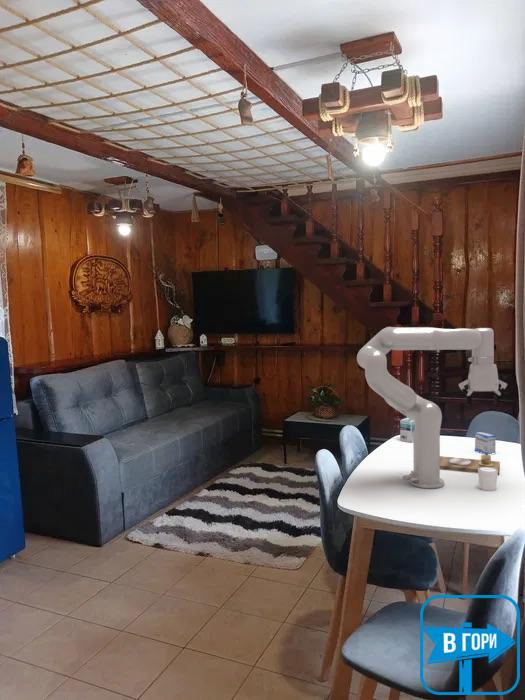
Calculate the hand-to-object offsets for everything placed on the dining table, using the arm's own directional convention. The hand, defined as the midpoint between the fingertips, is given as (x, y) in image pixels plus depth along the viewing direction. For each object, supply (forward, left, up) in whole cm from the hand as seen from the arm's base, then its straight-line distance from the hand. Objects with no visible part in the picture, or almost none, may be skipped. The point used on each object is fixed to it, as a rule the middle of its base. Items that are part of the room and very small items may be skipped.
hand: (482, 405), depth 199 cm
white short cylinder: (-5, -8, -29) cm, 30 cm away
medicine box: (+28, +29, -29) cm, 50 cm away
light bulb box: (+12, +63, -29) cm, 70 cm away
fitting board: (+6, +15, -29) cm, 33 cm away
